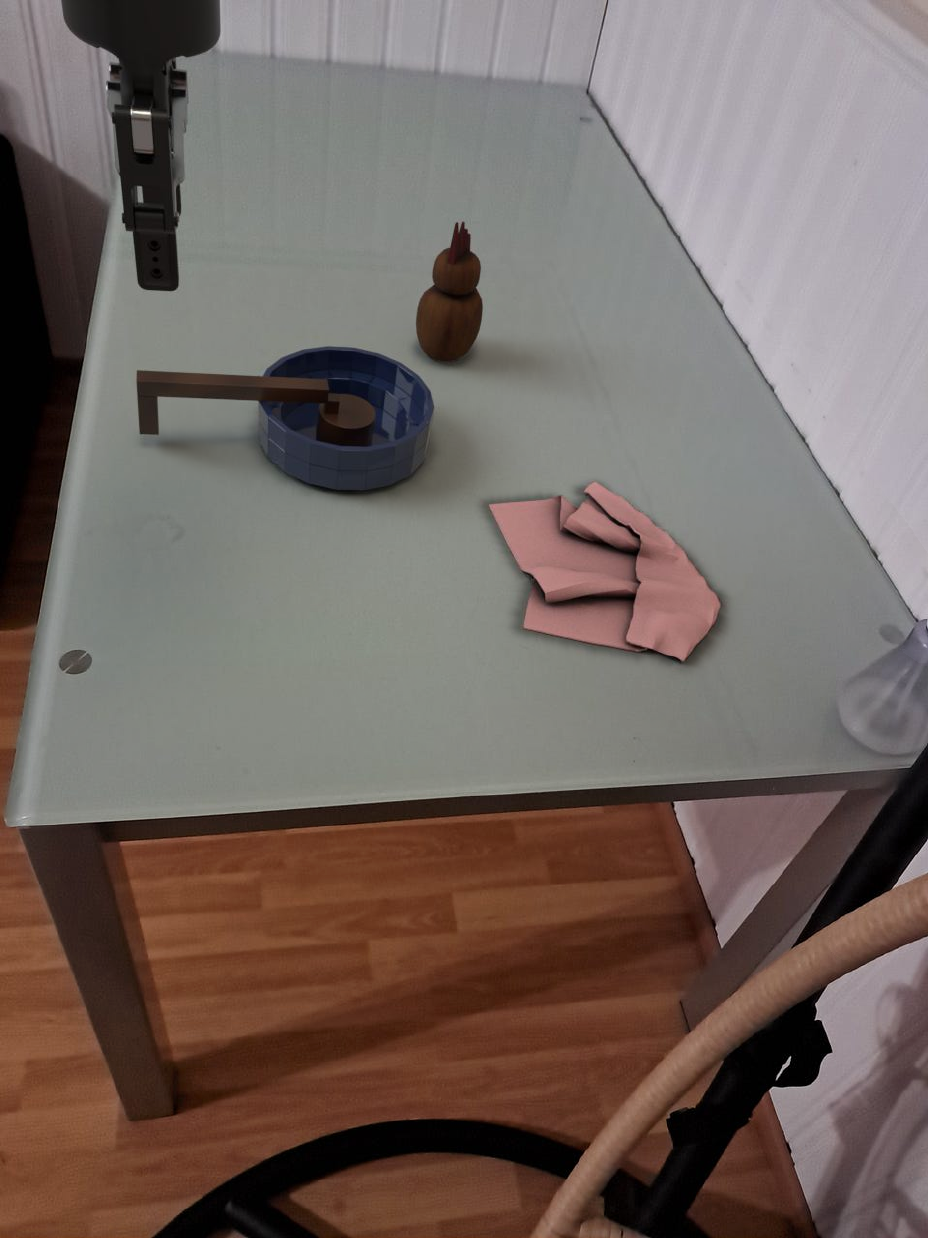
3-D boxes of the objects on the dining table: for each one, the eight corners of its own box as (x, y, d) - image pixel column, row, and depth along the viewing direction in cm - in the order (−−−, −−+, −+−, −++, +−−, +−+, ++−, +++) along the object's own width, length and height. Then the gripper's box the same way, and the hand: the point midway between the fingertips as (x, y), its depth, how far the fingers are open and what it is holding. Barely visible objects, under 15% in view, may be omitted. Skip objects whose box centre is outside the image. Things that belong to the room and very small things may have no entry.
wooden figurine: (437, 375, 99) (459, 236, 88) (402, 347, 101) (419, 209, 90) (484, 358, 102) (511, 222, 91) (449, 331, 105) (472, 196, 94)
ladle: (139, 447, 82) (136, 393, 78) (139, 410, 85) (136, 357, 81) (375, 453, 87) (384, 404, 84) (367, 419, 91) (375, 369, 87)
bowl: (293, 510, 82) (295, 464, 78) (235, 403, 90) (234, 358, 86) (454, 477, 88) (462, 433, 84) (385, 380, 96) (390, 337, 93)
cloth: (710, 687, 76) (721, 668, 74) (448, 605, 77) (452, 584, 75) (729, 527, 89) (738, 508, 88) (506, 460, 91) (511, 440, 89)
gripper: (64, -127, 48) (102, 190, 60) (31, -43, 39) (84, 311, 51) (217, -105, 50) (224, 199, 62) (219, -19, 41) (228, 318, 53)
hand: (161, 249), depth 57 cm, fingers open, 8 cm apart
